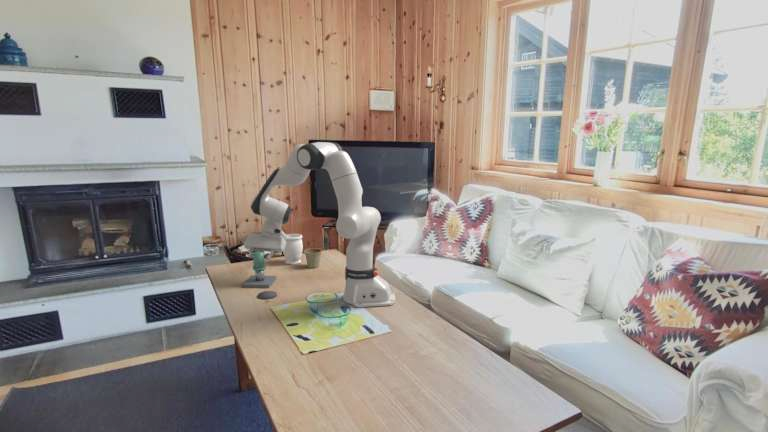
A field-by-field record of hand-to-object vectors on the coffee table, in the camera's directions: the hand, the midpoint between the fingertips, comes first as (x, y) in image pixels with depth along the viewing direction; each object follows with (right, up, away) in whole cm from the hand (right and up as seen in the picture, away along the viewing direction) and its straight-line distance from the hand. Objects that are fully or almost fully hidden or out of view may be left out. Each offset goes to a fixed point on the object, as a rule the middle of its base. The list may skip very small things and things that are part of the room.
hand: (258, 258), depth 193 cm
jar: (+9, -6, +34) cm, 35 cm away
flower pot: (+20, -7, +27) cm, 35 cm away
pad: (+7, -15, -13) cm, 21 cm away
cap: (0, -5, +1) cm, 5 cm away
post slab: (0, -12, +2) cm, 12 cm away
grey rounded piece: (0, -10, +2) cm, 11 cm away
